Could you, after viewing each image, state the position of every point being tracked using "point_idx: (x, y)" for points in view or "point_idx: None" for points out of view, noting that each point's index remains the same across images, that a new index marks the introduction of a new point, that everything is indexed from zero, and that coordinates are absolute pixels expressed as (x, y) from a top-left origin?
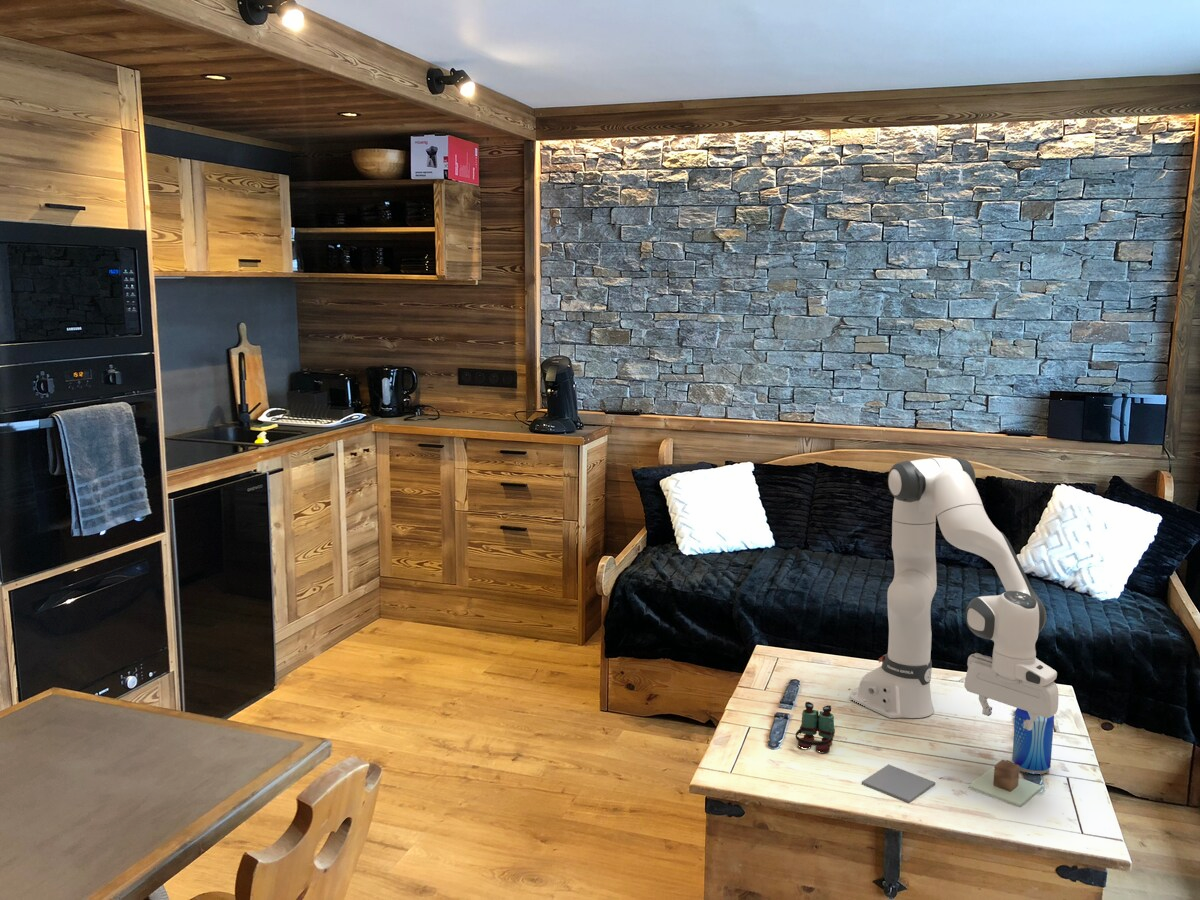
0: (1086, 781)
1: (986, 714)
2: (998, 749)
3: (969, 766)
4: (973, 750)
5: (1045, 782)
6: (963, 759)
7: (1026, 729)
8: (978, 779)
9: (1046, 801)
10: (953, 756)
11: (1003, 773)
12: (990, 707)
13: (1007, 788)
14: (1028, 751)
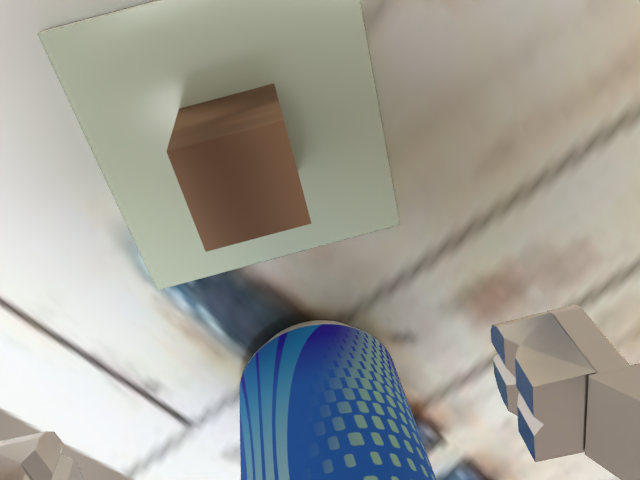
0: (131, 455)
1: (523, 322)
2: (486, 373)
3: (483, 160)
4: (550, 289)
5: (195, 331)
6: (539, 189)
7: (14, 440)
8: (363, 68)
9: (50, 206)
10: (586, 172)
11: (221, 125)
12: (551, 444)
13: (195, 107)
14: (294, 398)
